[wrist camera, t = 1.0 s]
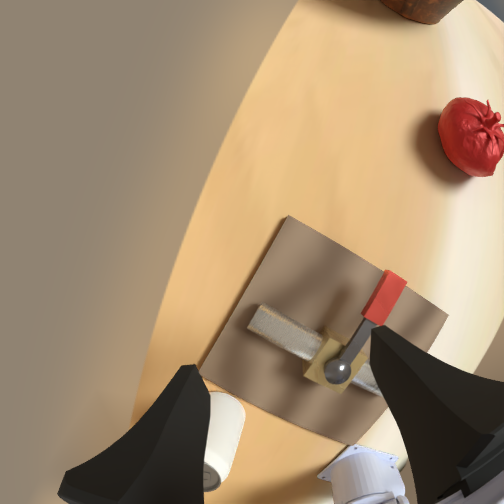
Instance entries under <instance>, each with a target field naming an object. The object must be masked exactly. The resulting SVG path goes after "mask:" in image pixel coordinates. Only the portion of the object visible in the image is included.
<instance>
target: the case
mask: <svg viewBox="0 0 504 504" xmlns="http://www.w3.org/2000/svg"><path fill="white" fill-rule="evenodd" d="M380 1H382V2H383V3H384V4H385V5H386V6H388V7H389V8H391V9H392V10H394V11H396V12H397V13H399V14H400V15H402V16H404V17H406V18H408V19H411V20H414V21H417V22H421V23H427V24H436V23H438V22H439V21H440V20H441V19H442V18H443V17H444V16H445V15H447V14H448V13H449V12H450V11H451V10H452V9H453V8H455V7H456V6H457V5H458V4H460V3H461V2H462V1H463V0H380Z"/></svg>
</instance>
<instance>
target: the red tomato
mask: <svg viewBox="0 0 504 504" xmlns="http://www.w3.org/2000/svg"><path fill="white" fill-rule="evenodd" d="M500 120H501V115H500V113H499V112H496V113H493V111H492V110H491V107H490V105H489V102H488V100H487V106H486V105H485V104H483V103H481V102H479V101H477V100H473V99H470V98H460V97H459V98H455V99H453V100H451V101H450V102H449V103H448V104H447V106H446V107H445V108H444V109H443V111H442V114H441V116H440V121H439V122H438V132H439V135H440V139H441V143H442V147H443V149H444V151H445V154H446V156H447V157H448V158H449V160H450V161H451V162H452V163H453V164H454V165H455V166H457V167H458V168H459V169H461V170H462V171H464V172H465V173H467V174H469V175H471V176H477V177H486V176H492V175H493V174H494V173H493V172H494V170H495V168H496V164H497V163H498V162H499V161H500V159H501V158H502V156H503V154H504V134H503V132H502V130H501V128H500V127H504V124H499V123H498V122H499V121H500Z"/></svg>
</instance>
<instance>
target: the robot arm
mask: <svg viewBox="0 0 504 504" xmlns="http://www.w3.org/2000/svg"><path fill="white" fill-rule="evenodd" d="M369 365H370V367H371V370H372V373H373V376H374V378H375V381H376V384H377V386H378V388H379V389H380V391H381V393H382V395H383V397H384V399H385V401H386V403H387V405H388V407H389V409H390V411H391V413H392V415H393V417H394V419H395V421H396V423H397V425H398V427H399V430H400V432H401V435H402V438H403V441H404V444H405V447H406V451H407V454H408V458H409V461H410V465H411V469H412V473H413V478H414V483H415V488H416V494H417V502H418V504H504V382H500V381H495V380H491V379H487V378H483V377H479V376H477V375H474V374H470V373H468V372H465V371H462V370H460V369H458V368H455V367H453V366H451V365H449V364H447V363H445V362H443V361H441V360H439V359H437V358H435V357H433V356H432V355H430V354H428V353H426V352H425V351H423V350H421V349H420V348H418V347H417V346H415V345H414V344H412V343H411V342H409V341H408V340H406V339H405V338H403V337H402V336H400V335H399V334H397V333H396V332H394V331H393V330H392V329H390V328H389V327H387V326H386V325H382V326H379V327H375V328H372V329H371V343H370V361H369ZM210 413H211V395H210V393H209V391H208V389H207V387H206V385H205V383H204V381H203V379H202V377H201V375H200V373H199V371H198V369H197V367H196V365H195V364H193V365H183V366H181V367H180V368H179V370H178V371H177V373H176V374H175V375H174V377H173V378H172V379H171V381H170V382H169V384H168V385H167V386H166V388H165V389H164V390H163V392H162V393H161V394H160V396H159V397H158V398H157V400H156V401H155V402H154V403H153V405H152V406H151V407H150V408H149V409H148V411H147V412H146V413H145V414H144V415H143V417H142V418H141V419H140V420H139V421H138V422H137V423H136V424H135V425H134V426H133V427H132V428H131V429H130V430H129V431H128V432H127V433H126V434H125V435H123V437H121V438H120V439H119V440H117V441H116V442H115V443H114V444H112V445H111V446H110V447H108V448H107V449H106V450H104V451H103V452H101V453H100V454H98V455H97V456H95V457H94V458H92V459H90V460H88V461H87V462H85V463H83V464H81V465H79V466H77V467H75V468H72V469H71V470H68V471H66V472H65V475H64V478H63V480H62V483H61V485H60V488H59V491H58V493H57V494H58V496H59V497H60V498H62V499H63V500H64V501H66V502H67V503H69V504H204V488H203V471H204V457H205V450H206V444H207V437H208V430H209V423H210ZM355 447H356V448H355ZM397 460H398V456H395V455H391V454H387V453H384V452H380V451H377V450H373V449H370V448H367V447H363V446H360V445H357V444H354V445H353V446H351V445H349V446H348V447H347V448H346V449H345V450H344V451H343V452H342V453H341V454H340V455H339V456H338V457H337V458H336V459H335V460H334V461H333V462H332V463H331V464H329V465H328V466H327V467H326V468H325V469H324V470H323V471H322V472H320V473H319V474H318V475H317V478H319V479H322V480H326V481H329V482H331V484H332V492H333V500H334V504H409V502H408V500H407V498H406V497H405V496H404V494H405V486H404V483H403V482H402V479H401V477H400V474H399V472H398V469H397V467H396V465H395V462H396V461H397Z"/></svg>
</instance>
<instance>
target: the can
mask: <svg viewBox="0 0 504 504" xmlns="http://www.w3.org/2000/svg"><path fill="white" fill-rule="evenodd" d="M209 393H210V395H211V413H210V423H209V430H208V437H207V444H206V450H205V457H204V471H203V488H204V492H210V491H214V490H216V489H217V488H218V487H219V486H220V484H221V482H223V481H224V480H225V479H226V478H227V476H228V474H229V471H230V469H231V466H232V462H233V459H234V456H235V453H236V449H237V446H238V443H239V439H240V436H241V432H242V429H243V425H244V422H245V410H244V408H243V406H242V405H241V403H240V402H239V401H238V400H237V399H235V398H234V397H232V396H230V395H228V394H225V393H222V392H209Z"/></svg>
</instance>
